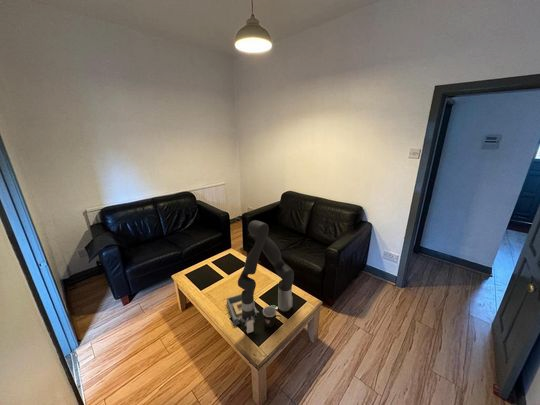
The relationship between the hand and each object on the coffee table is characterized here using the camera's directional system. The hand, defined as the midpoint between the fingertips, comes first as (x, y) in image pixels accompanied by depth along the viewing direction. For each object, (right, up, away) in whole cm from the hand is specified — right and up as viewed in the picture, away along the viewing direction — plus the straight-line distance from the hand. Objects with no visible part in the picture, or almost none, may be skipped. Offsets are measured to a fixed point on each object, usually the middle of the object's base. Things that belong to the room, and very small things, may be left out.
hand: (249, 327), depth 135 cm
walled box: (-7, +2, +17) cm, 19 cm away
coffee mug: (+14, -2, +6) cm, 15 cm away
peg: (0, -2, +1) cm, 2 cm away
